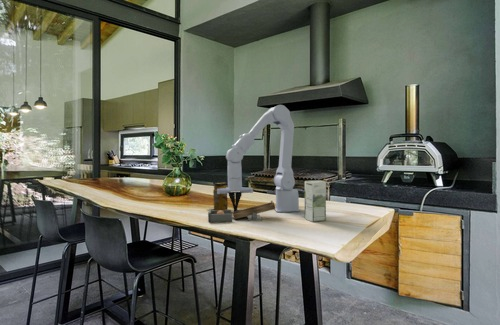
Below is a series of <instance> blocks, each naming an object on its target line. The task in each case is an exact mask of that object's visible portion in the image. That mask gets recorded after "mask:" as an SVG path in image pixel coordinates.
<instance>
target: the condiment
mask: <svg viewBox="0 0 500 325" xmlns="http://www.w3.org/2000/svg"><path fill="white" fill-rule="evenodd" d="M213 184H214V185H213V188H214V189H213V192H212V194H213V208H209V209H211V210H230V209H229V208H228V205H229V204H228V193H225V194H217V189H221V188H227V183H226V182H215V183H213ZM209 209H206V210H207V211H208V212H209Z"/></svg>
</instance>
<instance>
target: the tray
mask: <svg viewBox="0 0 500 325" xmlns="http://www.w3.org/2000/svg"><path fill="white" fill-rule="evenodd" d="M211 209H212V208H209V211H208V213H207V215H208V216H207V218H208V223H225V222H226V223H229V222H232V209H229V210H211ZM218 211H223V212H224V214H217V212H218Z"/></svg>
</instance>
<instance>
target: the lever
mask: <svg viewBox="0 0 500 325" xmlns="http://www.w3.org/2000/svg"><path fill="white" fill-rule="evenodd" d="M275 207H276V204H275V202H274V201H273V200H270V202H267V203H263V204H259V205H254V206H252V207H247V208H239V209H238V208H237V211H234V210H232V216H233V219H234V220H236V219H241V218H245V217H247V216H249V215H253V212H257V214H261V213H264V212H268V211H273V210H275Z"/></svg>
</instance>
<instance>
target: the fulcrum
mask: <svg viewBox="0 0 500 325" xmlns="http://www.w3.org/2000/svg"><path fill="white" fill-rule="evenodd" d="M246 217H247V221H262V220H263V219H262V216H261V215H260V214H258V213H257V212H253V215H249V216H246Z"/></svg>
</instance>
